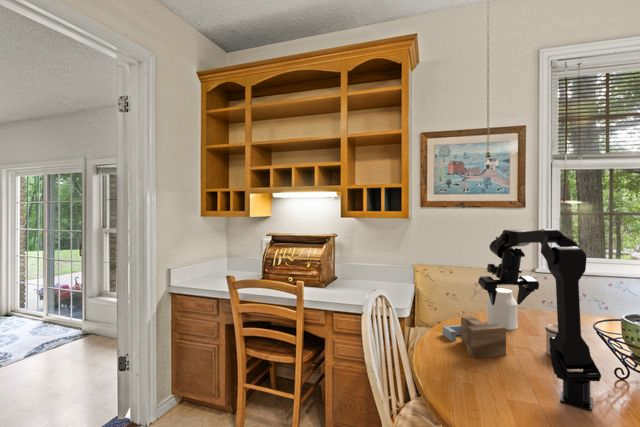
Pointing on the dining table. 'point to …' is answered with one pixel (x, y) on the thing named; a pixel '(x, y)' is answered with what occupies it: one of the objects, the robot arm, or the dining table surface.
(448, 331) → the stop bracket
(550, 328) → the teacup with lid
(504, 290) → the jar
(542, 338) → the dining table surface
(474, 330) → the tee block
